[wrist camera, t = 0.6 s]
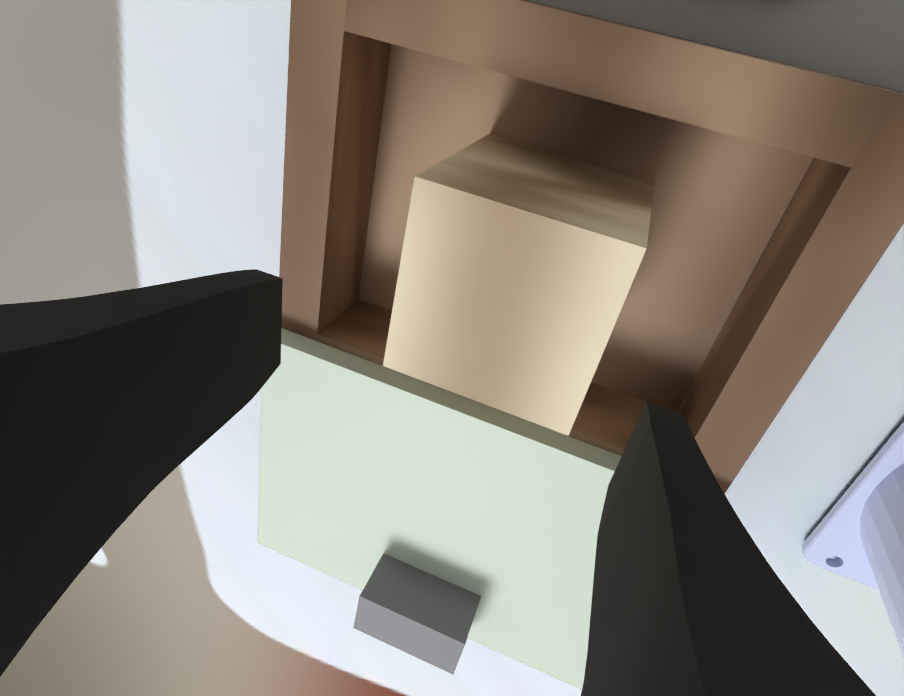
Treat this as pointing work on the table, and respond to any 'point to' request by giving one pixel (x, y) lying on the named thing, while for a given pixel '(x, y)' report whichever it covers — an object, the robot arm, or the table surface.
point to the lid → (432, 509)
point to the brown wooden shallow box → (609, 145)
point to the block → (516, 276)
